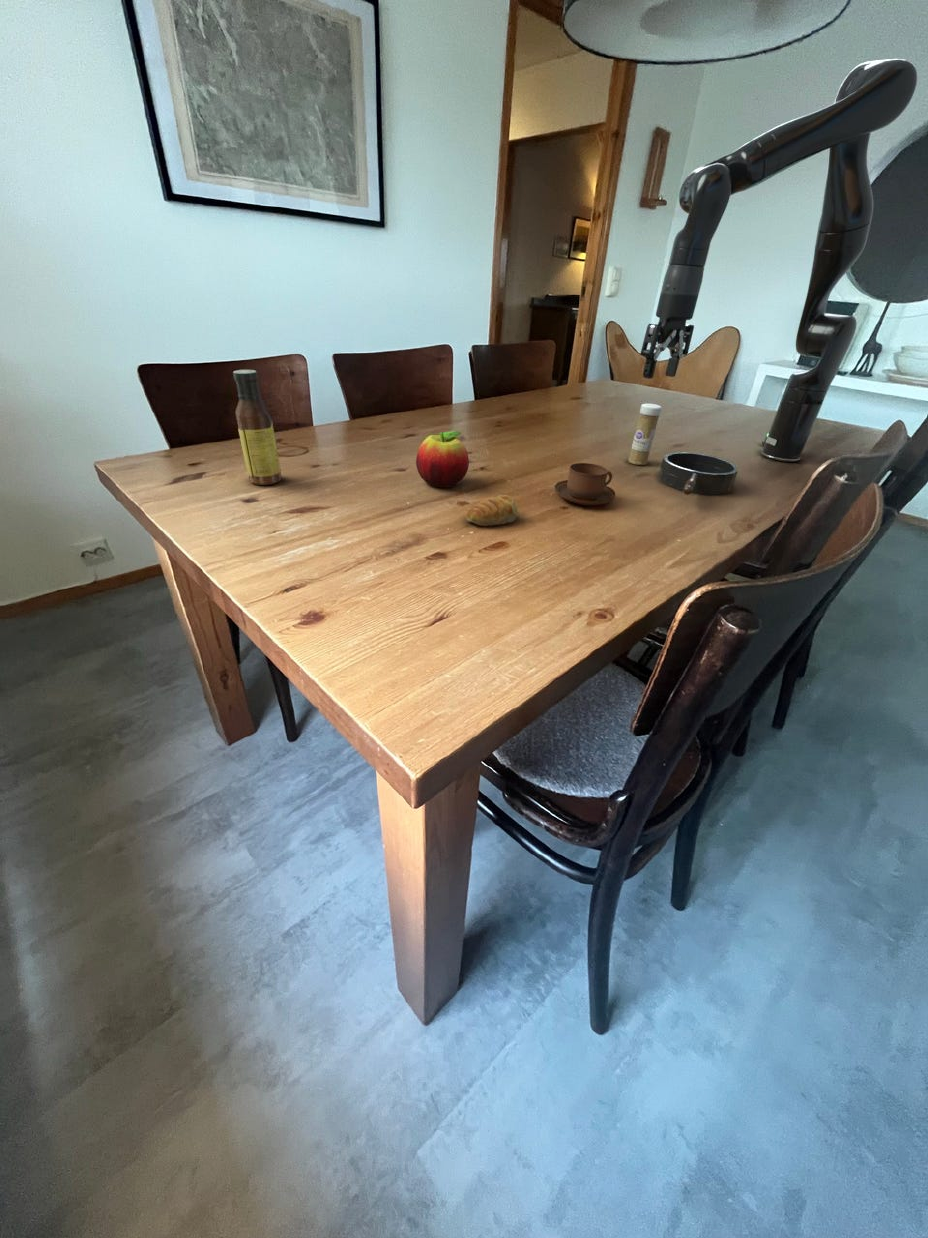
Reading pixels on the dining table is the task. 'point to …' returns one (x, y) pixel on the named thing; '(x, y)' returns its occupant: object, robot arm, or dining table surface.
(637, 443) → the sprinkles bottle
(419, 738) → the dining table surface
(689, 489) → the pan handle
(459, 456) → the fruit
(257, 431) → the sauce bottle
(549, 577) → the dining table surface
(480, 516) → the pastry
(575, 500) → the cup and saucer
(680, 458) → the pan
